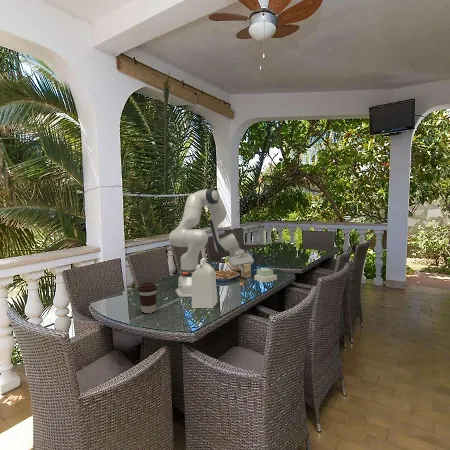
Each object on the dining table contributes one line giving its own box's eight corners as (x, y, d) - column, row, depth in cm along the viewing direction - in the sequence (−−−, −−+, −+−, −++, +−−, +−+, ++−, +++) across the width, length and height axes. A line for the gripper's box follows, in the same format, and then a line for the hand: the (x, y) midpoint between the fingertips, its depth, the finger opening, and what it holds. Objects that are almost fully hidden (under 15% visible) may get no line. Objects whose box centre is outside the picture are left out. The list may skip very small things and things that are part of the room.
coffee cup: (159, 308, 193) (158, 281, 191) (156, 314, 183) (155, 286, 181) (141, 309, 192) (139, 282, 191) (137, 315, 182) (135, 286, 181)
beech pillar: (250, 276, 254) (250, 264, 253) (245, 277, 251) (245, 265, 250) (246, 275, 258) (246, 263, 257) (241, 276, 255) (240, 264, 254)
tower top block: (273, 275, 244) (273, 269, 244) (264, 277, 240) (264, 271, 240) (265, 273, 251) (265, 267, 251) (256, 275, 247) (256, 269, 246)
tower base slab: (276, 281, 245) (276, 275, 244) (265, 283, 238) (265, 278, 238) (265, 278, 253) (265, 272, 253) (254, 280, 247) (254, 275, 246)
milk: (212, 309, 188) (210, 261, 186) (191, 308, 191) (189, 260, 188) (217, 302, 200) (215, 256, 198) (197, 301, 202) (196, 256, 200)
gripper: (228, 253, 252) (237, 269, 245) (249, 250, 264) (258, 265, 258) (224, 259, 256) (233, 274, 249) (245, 255, 268) (254, 270, 261)
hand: (246, 269), depth 253 cm, fingers closed on beech pillar, 5 cm apart
